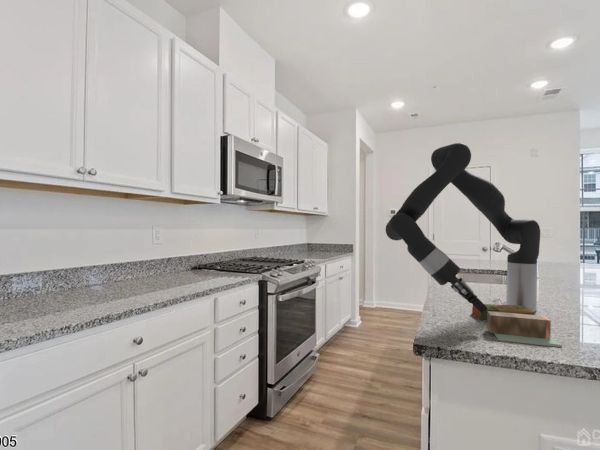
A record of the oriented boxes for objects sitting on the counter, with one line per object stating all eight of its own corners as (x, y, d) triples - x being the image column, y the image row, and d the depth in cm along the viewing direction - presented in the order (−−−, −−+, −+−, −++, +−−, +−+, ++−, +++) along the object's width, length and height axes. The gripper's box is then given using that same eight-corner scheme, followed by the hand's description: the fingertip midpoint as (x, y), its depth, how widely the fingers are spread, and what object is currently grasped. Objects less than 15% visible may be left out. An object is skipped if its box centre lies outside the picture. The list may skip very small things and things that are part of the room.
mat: (498, 340, 89) (498, 338, 89) (489, 326, 102) (489, 324, 102) (561, 347, 85) (561, 344, 85) (543, 332, 97) (543, 330, 97)
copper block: (490, 315, 93) (550, 320, 89) (487, 311, 98) (544, 315, 93) (490, 333, 93) (550, 339, 89) (487, 328, 98) (543, 333, 93)
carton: (535, 324, 106) (535, 311, 106) (480, 321, 109) (480, 308, 109) (522, 317, 114) (522, 304, 114) (471, 314, 117) (472, 302, 117)
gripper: (450, 259, 93) (500, 307, 89) (447, 255, 106) (490, 297, 102) (430, 277, 95) (478, 325, 91) (429, 271, 108) (471, 313, 103)
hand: (484, 310), depth 96 cm, fingers closed
